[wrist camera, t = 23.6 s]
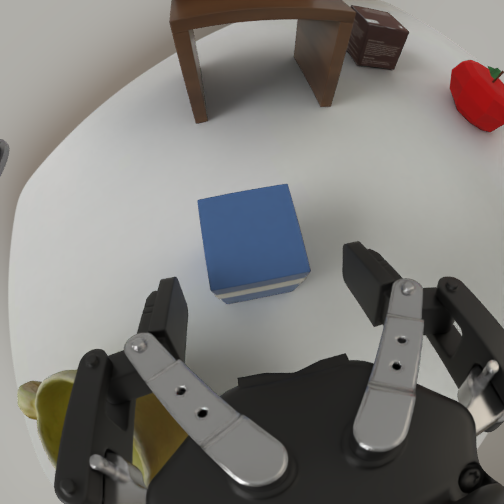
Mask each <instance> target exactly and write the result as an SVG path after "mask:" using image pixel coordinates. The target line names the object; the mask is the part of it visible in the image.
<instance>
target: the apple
mask: <svg viewBox="0 0 504 504" xmlns="http://www.w3.org/2000/svg"><path fill="white" fill-rule="evenodd" d="M500 72H501V71H500V70H499V69H498V68H496V69H494V68H492V67H489V66H488V68H486V67H484V66H483V65H481V64H479V63H478V62H475V61H472V60H467V61H463V62H461V63H460V64H459V65H457V66H456V67H455V68H453V69H452V74H451V82H450V90H451V93H452V96H453V98H454V101H455V105H456V108H457V110H458V111H459V112H460V113H461V114H462V115H463V116H464V117H465V118H466V119H467V120H468V121H469V122H470V123H471V124H473V125H474V126H476V127H478V128H479V129H481V130H484V131H488V132H491V131H493V130H495V129H497V128H498V127H500V126H502V125H504V84H503V83H502V82H501V80H500V79H499V77H500V76H501V75H502V74H503V73H504V72H503V71H502V72H501V73H500Z"/></svg>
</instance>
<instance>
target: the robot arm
mask: <svg viewBox="0 0 504 504" xmlns="http://www.w3.org/2000/svg"><path fill="white" fill-rule="evenodd" d="M0 151H1V149H0ZM342 273H343V278H344V281H345V283H346V285H347V286H348V288H349V289H350V291H351V292H352V294H353V295H354V297H355V298H356V300H357V301H358V303H359V304H360V306H361V307H362V309H363V311H364V312H365V314H366V315H367V317H368V318H369V320H370V321H371V323H372V325H373V326H374V327H375V326H379V325H382V324H383V326H384V328H383V332H382V336H381V340H380V344H379V348H378V351H377V355H376V359H375V362H374V364H373V363H370V362H366V361H359V360H349V359H348V357H347V355H346V353H345V354H341V355H338V356H334V357H331V358H327V359H323V360H320V361H318V362H316V363H314V364H312V365H310V366H308V367H306V368H304V369H302V370H300V371H297V372H294V373H262V374H257V375H252V376H246V377H240V378H238V386H237V387H234V388H232V389H230V390H228V391H227V392H225V393H224V394H222V395H221V396H218V395H217V394H216V393H215V392H214V391H213V390H212V389H211V388H210V387H208V386H207V385H206V384H205V383H204V382H203V381H202V380H201V379H200V378H199V377H198V376H197V375H196V374H195V373H194V372H192V371H191V370H190V369H189V368H188V367H187V366H186V365H185V350H186V336H187V323H188V308H187V303H186V300H185V298H184V295H183V292H182V289H181V287H180V284H179V281H178V279H177V277H172V278H166V279H161V280H160V284H159V287H158V291H153V292H152V293H151V294H150V295H149V297H148V298H147V299H146V303H145V306H144V307H145V308H144V310H143V314H142V317H141V321H140V324H139V328H138V332H137V334H136V335H134V336H132V337H131V338H130V339H129V340H128V341H127V342H126V344H125V346H124V350H123V351H120V352H118V353H115V354H112V355H109V356H108V355H107V354H106V353H105V351H103V350H101V349H94V350H91V351H89V352H88V353H86V354H85V355H84V356H83V357H82V359H81V360H80V363H79V366H78V370H77V373H76V377H75V380H74V384H73V387H72V391H71V395H70V399H69V403H68V407H67V411H66V416H65V420H64V425H63V430H62V435H61V440H60V446H59V452H58V458H57V465H56V473H55V482H54V488H55V493H56V495H57V497H58V498H59V499H60V501H61V502H63V503H64V504H504V486H502V485H501V484H500V483H498V482H497V481H495V480H494V479H493V478H491V477H490V476H489V475H488V474H487V473H486V472H485V471H484V470H483V469H482V467H481V466H480V463H479V460H478V456H477V448H476V436H478V435H479V434H481V433H482V432H492V431H494V430H495V429H497V428H498V427H499V426H500V425H501V424H502V423H503V422H504V329H503V328H502V326H501V325H500V324H499V323H498V322H497V320H496V319H495V318H494V317H493V316H492V314H491V313H490V312H489V311H488V310H487V309H486V308H485V306H484V305H483V304H482V303H481V302H480V301H479V300H478V299H477V298H476V296H475V295H474V294H473V293H472V292H471V291H470V290H469V289H468V288H467V287H466V286H465V285H464V284H463V283H462V282H461V281H460V280H458V279H456V278H454V277H443V278H441V279H440V280H439V281H438V285H437V287H435V288H422V286H421V285H420V284H419V283H418V282H417V281H415V280H412V279H407V278H404V279H403V278H402V277H401V276H400V275H399V274H398V273H397V272H396V271H395V270H394V269H393V267H392V266H391V265H389V263H388V262H387V261H386V260H384V258H383V257H382V256H381V255H380V254H379V253H377V252H375V251H373V250H371V249H366V248H365V247H364V246H363V245H362V244H361V243H360V242H359V241H356V242H352V243H347V244H344V245H343V268H342ZM454 321H456V322H457V324H458V325H459V326H460V328H461V330H462V336H461V334H460V333H459V332H458V330H457V329H456V328H455V326H454V325H453V323H454ZM423 335H426V336H427V338H428V339H429V341H430V342H431V344H432V345H433V347H434V349H435V350H436V352H437V353H438V355H439V357H440V358H441V360H442V361H443V363H444V365H445V366H446V368H447V370H448V371H449V373H450V375H451V377H452V378H453V380H454V382H455V383H456V385H457V387H458V389H459V390H458V394H457V397H458V401H459V402H457V401H455V400H453V399H450V398H448V397H446V396H443V395H441V394H439V393H436V392H434V391H432V390H430V389H428V388H425V387H423V386H421V385H419V384H416V383H417V378H418V371H419V365H420V357H421V349H422V340H423ZM151 393H153V394H154V395H155V396H156V398H157V399H158V400H159V401H160V403H161V404H162V405H163V406H164V408H165V409H166V410H167V411H168V412H169V414H170V415H171V416H172V417H173V418H174V419H175V421H176V422H177V423H178V424H179V425H180V426H181V428H182V429H183V430H184V431H185V432H186V433H187V434H188V436H187V438H186V439H185V440H184V441H183V443H182V444H181V445H180V446H179V448H178V449H177V450H176V451H175V452H174V454H173V455H172V456H171V457H170V459H169V460H168V461H167V462H166V463H165V465H164V466H163V467H162V468H161V469H160V470H159V472H158V473H157V474H156V475H155V476H154V478H153V479H152V480H151V482H150V484H149V486H148V488H147V487H146V485H145V483H144V480H143V475H142V473H141V471H140V470H139V468H137V467H136V466H135V465H133V464H132V463H133V436H134V419H135V407H136V399H137V398H139V397H142V396H145V395H148V394H151Z"/></svg>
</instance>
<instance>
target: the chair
mask: <svg viewBox="0 0 504 504" xmlns="http://www.w3.org/2000/svg"><path fill="white" fill-rule="evenodd" d="M355 15H356V12H355V11H354V10H353V9H352V8H351V7H349V6H348V5H347V4H346V3H345V2H343V1H342V0H172V1H171V11H170V21H169V22H170V27H171V30H172V33H173V39H174V43H175V47H176V50H177V54H178V58H179V62H180V66H181V70H182V74H183V77H184V81H185V85H186V89H187V92H188V96H189V100H190V104H191V107H192V111H193V115H194V118H195V122H196V123H201V122H206V121H208V119H207V112H206V105H205V98H204V90H203V83H202V76H201V68H200V63H199V58H198V53H197V47H196V42H195V38H194V32H193V29H197V28H202V27H208V26H214V25H221V24H228V23H236V22H246V21H258V20H278V19H298V21H297V31H296V41H295V50H294V58H295V60H296V61H297V63H298V65H299V67H300V68H301V70H302V72H303V74H304V76H305V77H306V79H307V81H308V83H309V85H310V87H311V89H312V91H313V92H314V94H315V96H316V98H317V100H318V102H319V104H320V106H321V107H330V106H331V104H332V101H333V97H334V94H335V90H336V87H337V83H338V80H339V76H340V72H341V69H342V65H343V61H344V58H345V54H346V50H347V46H348V43H349V39H350V35H351V31H352V27H353V23H354V19H355Z"/></svg>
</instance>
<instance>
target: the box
mask: <svg viewBox="0 0 504 504" xmlns="http://www.w3.org/2000/svg"><path fill="white" fill-rule="evenodd" d="M351 8H352V9H353V10H354V11H355V12H356V15H355V19H354V23H353V27H352V31H351V35H350V39H349V43H348V46H347V51H348V52H349V54H350V55H351V56H352V58H353V60H354V61H355V63H356V64H357V65H360V66H370V67H379V68H387V69H392V70H394V68H395V66H396V63H397V61H398V59H399V56H400V54H401V51H402V49H403V46H404V44H405V42H406V39H407V36H408V34H409V31H408V30H407V29H406V28H405V27H403V26H402V25H401V24H400V23H399V22H398V21H397V20H396V19H395V18H394V17H393V16H392V15H390V14H389V13H388V12H383V11H379V10H374V9H369V8H364V7H359V6H353V5H351Z"/></svg>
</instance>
